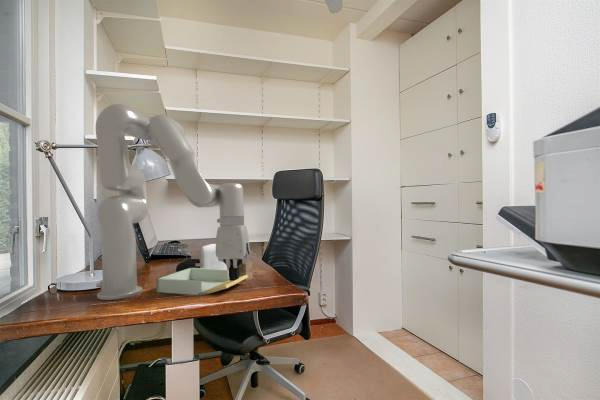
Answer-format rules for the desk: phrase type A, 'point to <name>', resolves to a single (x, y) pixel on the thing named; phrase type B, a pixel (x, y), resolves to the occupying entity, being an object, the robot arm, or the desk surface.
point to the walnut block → (246, 270)
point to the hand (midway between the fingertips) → (234, 279)
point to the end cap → (187, 264)
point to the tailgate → (225, 285)
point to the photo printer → (211, 258)
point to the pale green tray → (192, 281)
